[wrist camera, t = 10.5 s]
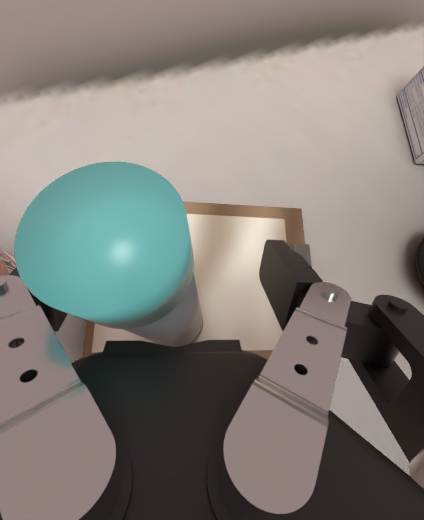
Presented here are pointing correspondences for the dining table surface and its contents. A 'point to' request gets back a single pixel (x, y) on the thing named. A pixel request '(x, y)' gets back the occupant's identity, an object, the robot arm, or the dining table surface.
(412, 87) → the medicine box
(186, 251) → the ball
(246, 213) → the clipboard
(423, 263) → the mate gourd
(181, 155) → the dining table surface
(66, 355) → the robot arm
